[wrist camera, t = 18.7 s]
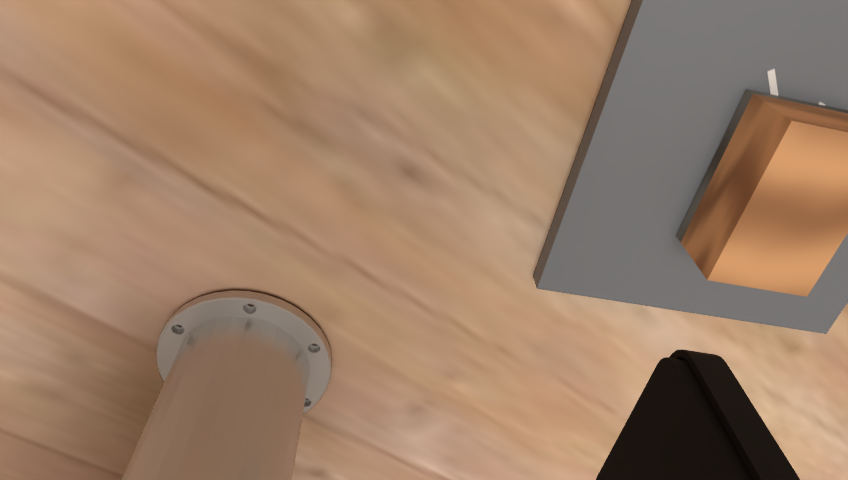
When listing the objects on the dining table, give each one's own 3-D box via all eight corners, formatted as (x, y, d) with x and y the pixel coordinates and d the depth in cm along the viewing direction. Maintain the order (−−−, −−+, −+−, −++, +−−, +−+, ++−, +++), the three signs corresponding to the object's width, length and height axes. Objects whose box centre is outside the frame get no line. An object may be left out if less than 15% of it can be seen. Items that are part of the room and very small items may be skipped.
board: (814, 320, 48) (826, 334, 47) (533, 275, 45) (537, 289, 44) (1011, 23, 37) (1034, 30, 36) (654, -62, 34) (664, -58, 33)
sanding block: (766, 251, 43) (806, 296, 38) (675, 236, 42) (707, 280, 38) (847, 110, 38) (904, 144, 33) (746, 89, 37) (791, 120, 33)
